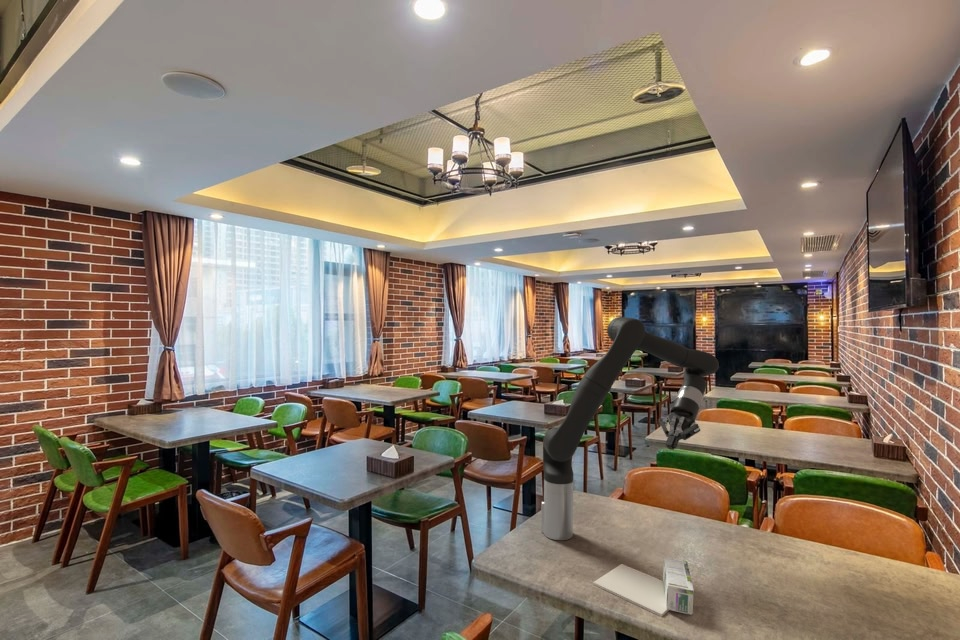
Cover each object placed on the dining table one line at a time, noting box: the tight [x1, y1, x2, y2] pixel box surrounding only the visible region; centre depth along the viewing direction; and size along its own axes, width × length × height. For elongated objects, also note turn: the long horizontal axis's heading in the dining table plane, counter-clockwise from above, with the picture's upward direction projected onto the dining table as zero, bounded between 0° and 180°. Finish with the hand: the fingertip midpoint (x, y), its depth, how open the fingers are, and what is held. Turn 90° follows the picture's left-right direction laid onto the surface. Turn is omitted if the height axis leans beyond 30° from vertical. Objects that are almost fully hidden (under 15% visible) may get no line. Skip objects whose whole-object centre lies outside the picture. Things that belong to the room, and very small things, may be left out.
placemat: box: [592, 563, 670, 618], centre depth 116 cm, size 18×14×1 cm
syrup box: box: [662, 557, 695, 616], centre depth 112 cm, size 6×6×14 cm
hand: (670, 448), depth 139 cm, fingers closed
